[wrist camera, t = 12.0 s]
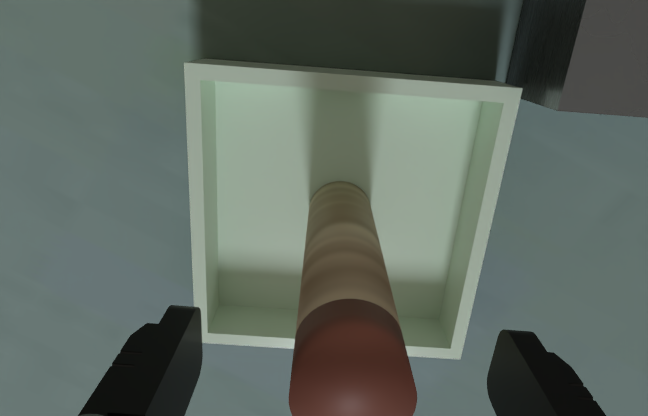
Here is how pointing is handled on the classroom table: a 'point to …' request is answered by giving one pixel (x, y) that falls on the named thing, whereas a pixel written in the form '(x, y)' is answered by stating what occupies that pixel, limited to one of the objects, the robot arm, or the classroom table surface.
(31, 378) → the classroom table surface
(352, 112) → the tray
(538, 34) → the socket block
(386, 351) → the pin
